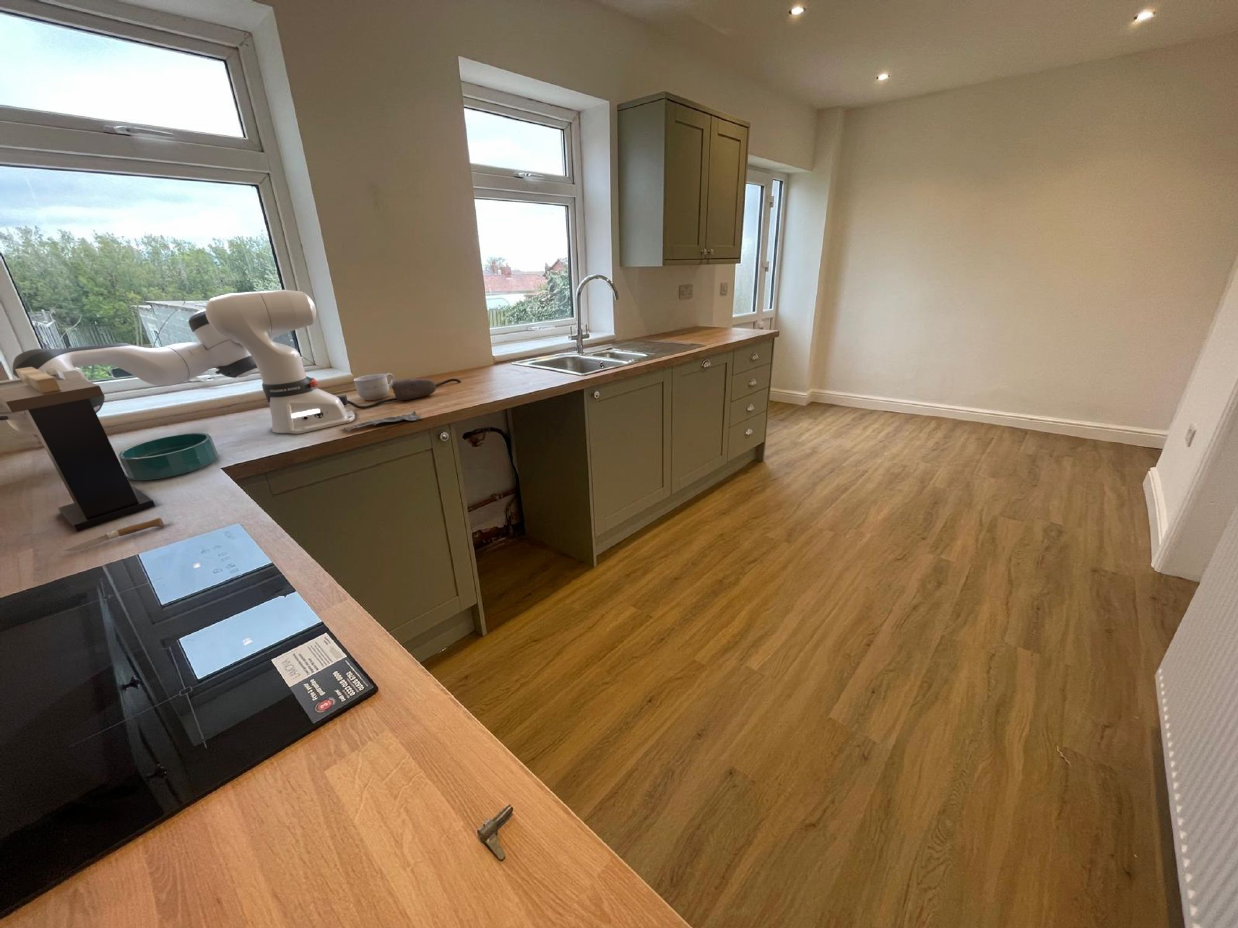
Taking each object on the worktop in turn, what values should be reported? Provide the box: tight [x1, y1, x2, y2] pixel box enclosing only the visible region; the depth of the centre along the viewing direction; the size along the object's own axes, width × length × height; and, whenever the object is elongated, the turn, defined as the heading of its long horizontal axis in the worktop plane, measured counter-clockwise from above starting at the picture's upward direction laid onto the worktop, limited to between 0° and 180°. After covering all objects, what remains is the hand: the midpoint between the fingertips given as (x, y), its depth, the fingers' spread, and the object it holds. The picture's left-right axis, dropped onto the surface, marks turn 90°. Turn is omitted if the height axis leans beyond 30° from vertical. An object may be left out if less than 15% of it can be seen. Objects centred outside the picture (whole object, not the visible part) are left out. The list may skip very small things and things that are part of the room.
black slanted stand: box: [0, 377, 156, 533], centre depth 100 cm, size 16×12×26 cm
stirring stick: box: [15, 367, 61, 393], centre depth 97 cm, size 22×2×2 cm, turn 55°
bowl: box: [117, 432, 219, 481], centre depth 124 cm, size 18×18×6 cm
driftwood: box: [343, 410, 420, 432], centre depth 151 cm, size 21×7×2 cm, turn 121°
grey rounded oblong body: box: [391, 378, 437, 401], centre depth 176 cm, size 15×5×7 cm, turn 126°
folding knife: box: [63, 517, 165, 552], centre depth 92 cm, size 14×2×2 cm, turn 135°
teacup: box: [353, 372, 396, 401], centre depth 179 cm, size 14×11×8 cm
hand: (21, 376), depth 109 cm, fingers open, 8 cm apart
